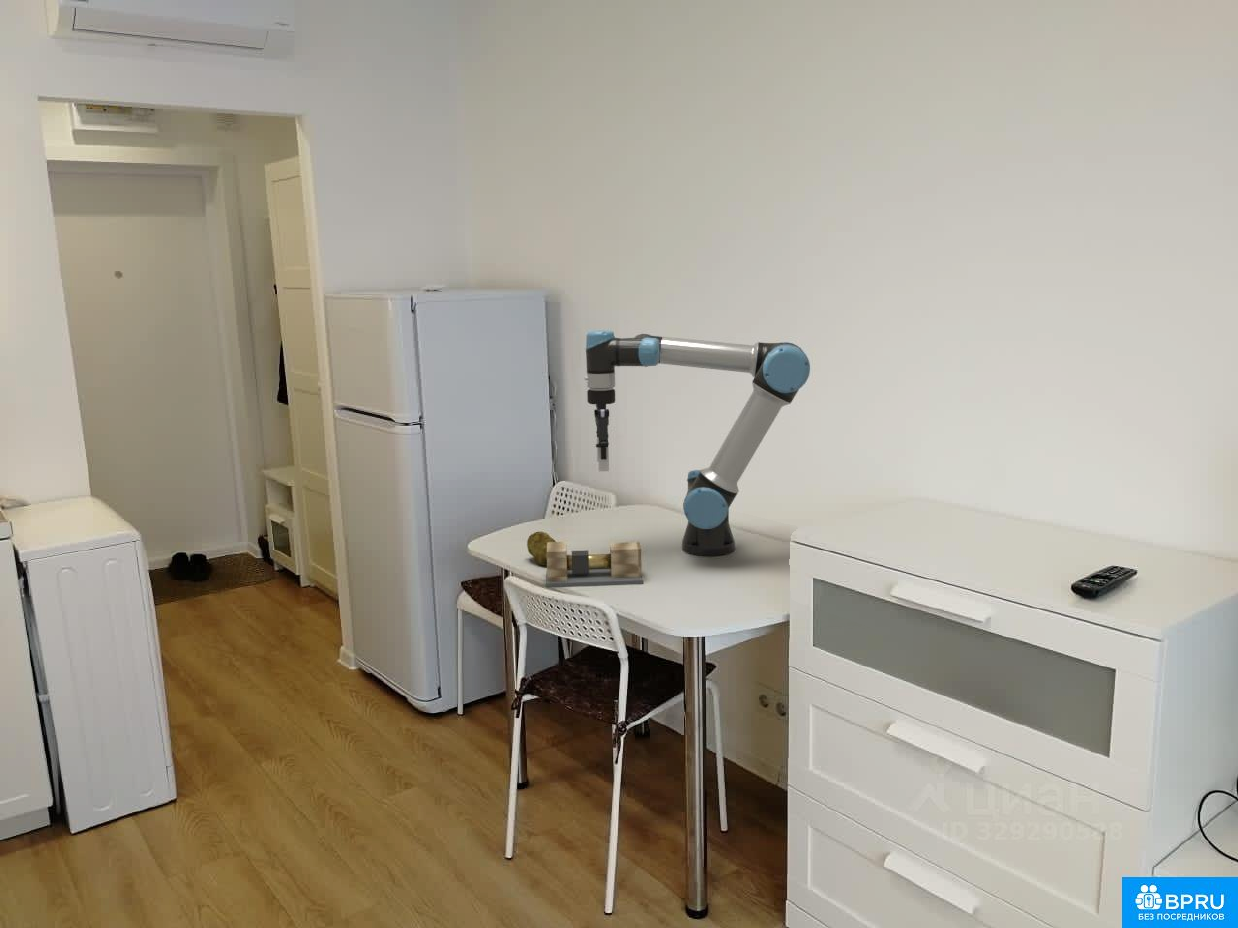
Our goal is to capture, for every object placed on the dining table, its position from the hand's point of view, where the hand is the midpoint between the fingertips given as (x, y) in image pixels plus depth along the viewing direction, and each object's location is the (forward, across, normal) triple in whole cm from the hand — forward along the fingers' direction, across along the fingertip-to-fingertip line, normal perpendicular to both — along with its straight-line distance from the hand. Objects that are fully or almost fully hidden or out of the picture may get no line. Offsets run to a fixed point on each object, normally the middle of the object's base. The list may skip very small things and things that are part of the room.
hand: (603, 466), depth 266 cm
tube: (+25, +16, -6) cm, 30 cm away
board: (+27, +16, -4) cm, 31 cm away
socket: (+27, +16, -13) cm, 34 cm away
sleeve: (+26, +16, +5) cm, 31 cm away
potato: (+27, 0, -17) cm, 32 cm away
